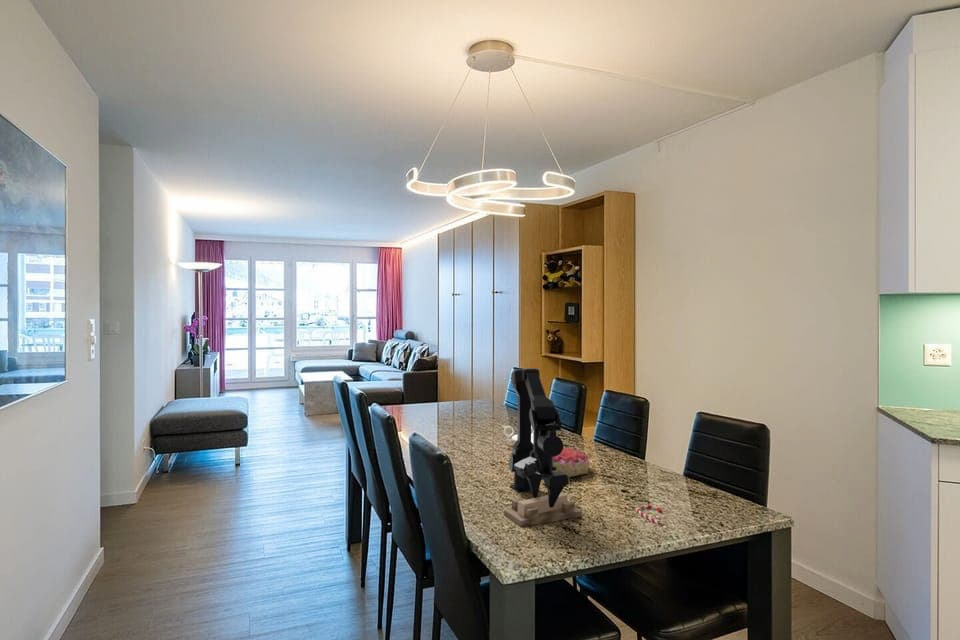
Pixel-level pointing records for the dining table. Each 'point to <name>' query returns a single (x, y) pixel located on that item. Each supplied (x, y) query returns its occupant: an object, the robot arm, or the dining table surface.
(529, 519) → the tabbed beige plate
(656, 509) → the candy cane
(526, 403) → the robot arm
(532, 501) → the clay strip
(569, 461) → the cake
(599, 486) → the dining table surface
